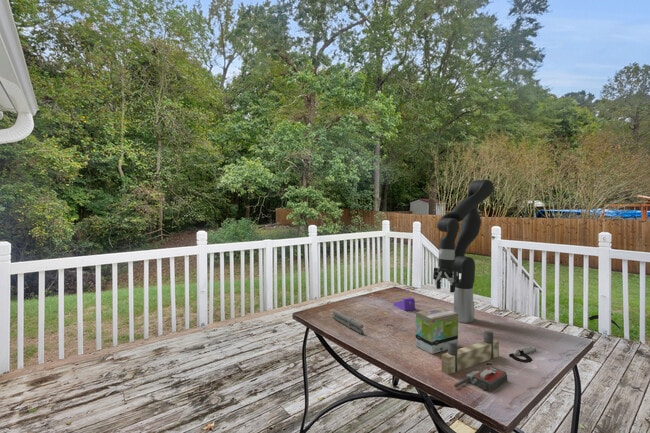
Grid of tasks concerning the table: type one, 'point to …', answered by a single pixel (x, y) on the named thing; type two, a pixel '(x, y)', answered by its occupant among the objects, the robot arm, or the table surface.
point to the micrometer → (523, 354)
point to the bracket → (406, 304)
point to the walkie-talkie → (485, 378)
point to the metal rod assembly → (348, 321)
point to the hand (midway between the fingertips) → (445, 290)
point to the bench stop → (469, 354)
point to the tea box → (436, 329)
